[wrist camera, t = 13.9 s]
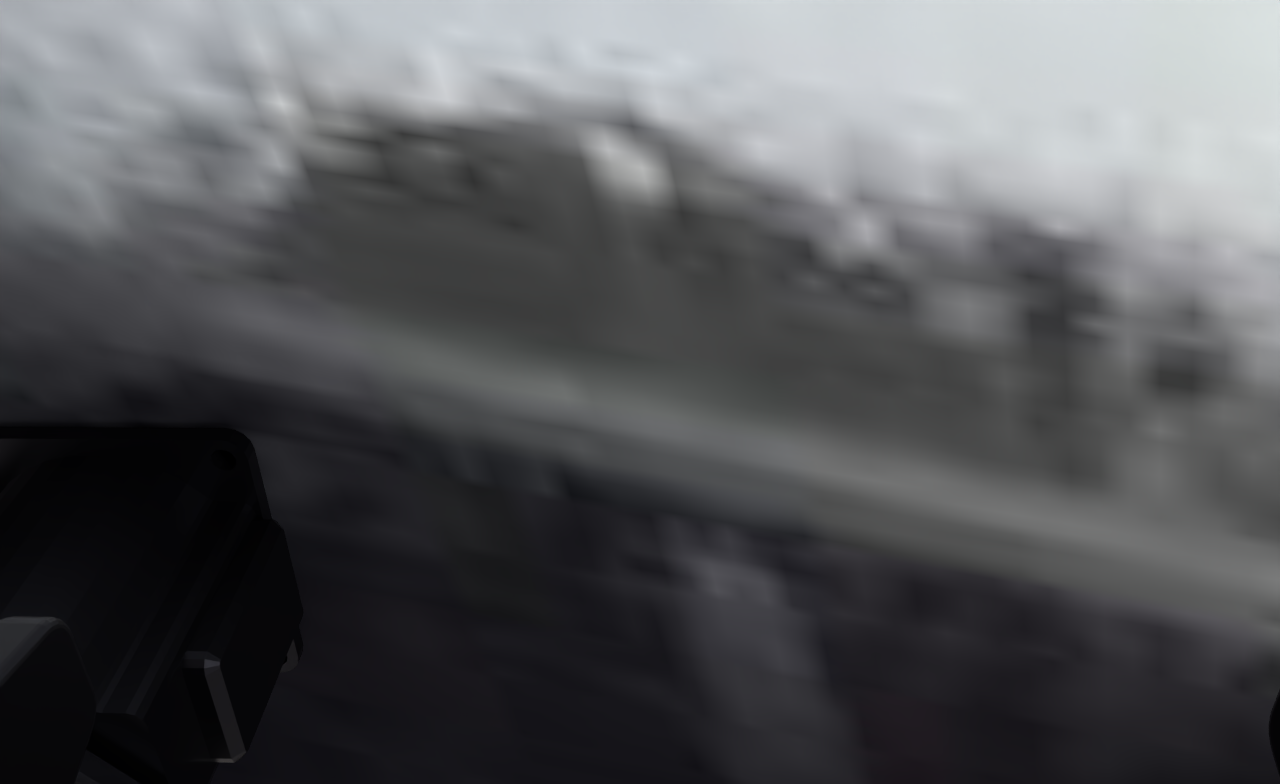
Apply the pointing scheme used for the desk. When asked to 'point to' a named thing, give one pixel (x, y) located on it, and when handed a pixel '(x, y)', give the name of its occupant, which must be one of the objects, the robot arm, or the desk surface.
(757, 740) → the desk surface
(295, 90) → the desk surface
